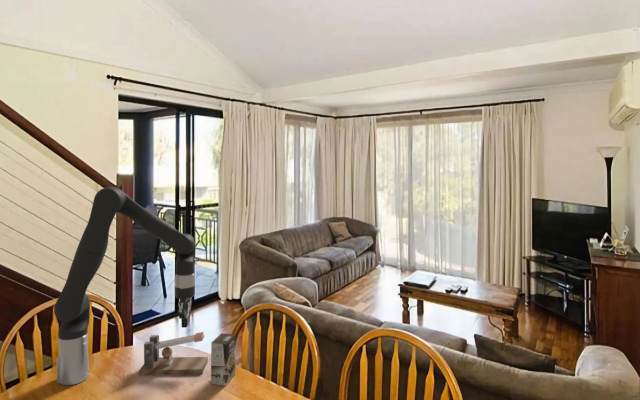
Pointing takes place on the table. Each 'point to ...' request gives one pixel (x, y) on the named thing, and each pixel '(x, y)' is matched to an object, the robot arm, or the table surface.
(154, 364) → the press base
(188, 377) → the table surface
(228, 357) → the coffee box
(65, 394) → the table surface
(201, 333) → the lever
